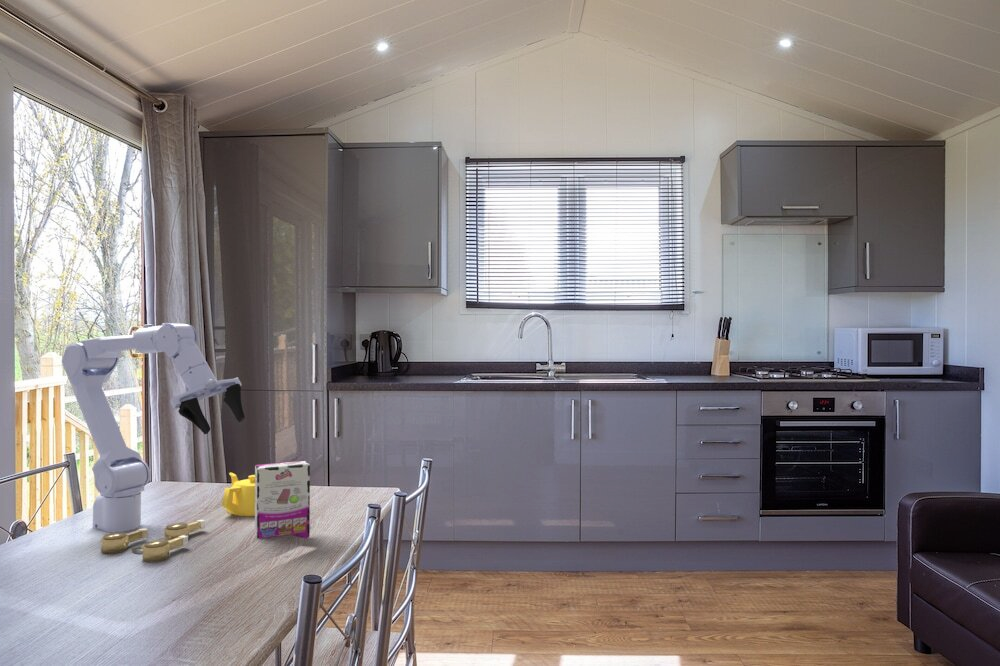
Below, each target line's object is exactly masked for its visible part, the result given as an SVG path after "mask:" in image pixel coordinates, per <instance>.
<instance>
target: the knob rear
mask: <svg viewBox="0 0 1000 666" xmlns="http://www.w3.org/2000/svg"><path fill="white" fill-rule="evenodd" d="M163 529H164V530H163V531H164V535H163V537H164V538H163V539H165V540H168V541H169V540H172V539H175V538H178V537H179V536H182V535H184V536H188V540H189V537H190V533H194V532H197V531H199V530H203V529H206V519H197V520H196V521H193V522H191V523H188V522H173V523H169V524H167V525H166V526H165V527H164V528H163Z"/></svg>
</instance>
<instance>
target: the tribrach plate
mask: <svg viewBox="0 0 1000 666" xmlns="http://www.w3.org/2000/svg"><path fill="white" fill-rule="evenodd" d="M143 545H144V543H142V544H139V545H136V546H134V547H133V548H132V550H131V551H132V553H133V554H135V555H142V549H143Z"/></svg>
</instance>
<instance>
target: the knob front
mask: <svg viewBox="0 0 1000 666" xmlns="http://www.w3.org/2000/svg"><path fill="white" fill-rule="evenodd" d="M143 544H144V545H143V549H142V554H141V555H142V556H141V557H142V562H144V563H157V562H158V563H159V562H163V561H166V560H168V559H169V558H170V551H172V550H175V549H178V548H182V547H185V546H188V545H189V539H188V536H184V535H182V536H179V537H178V538H175V539H172V540H169V541H168V540H165V539H164V538H161V539H160V538H157V539H151V540H148V541H146V542H144V543H143Z"/></svg>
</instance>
